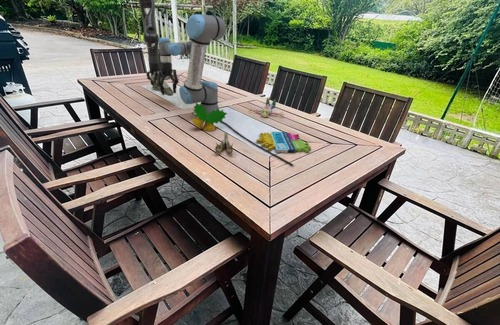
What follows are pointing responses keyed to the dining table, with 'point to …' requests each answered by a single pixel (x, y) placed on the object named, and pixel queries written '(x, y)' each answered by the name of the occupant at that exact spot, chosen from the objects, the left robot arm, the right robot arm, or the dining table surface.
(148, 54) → the left robot arm
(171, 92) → the snakeskin print shoe
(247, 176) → the dining table surface
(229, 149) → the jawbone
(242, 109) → the dining table surface
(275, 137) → the sign
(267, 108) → the toy
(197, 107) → the ornament
